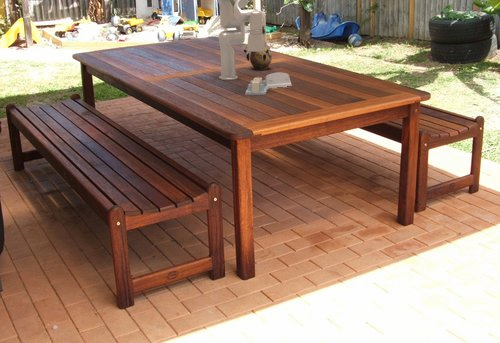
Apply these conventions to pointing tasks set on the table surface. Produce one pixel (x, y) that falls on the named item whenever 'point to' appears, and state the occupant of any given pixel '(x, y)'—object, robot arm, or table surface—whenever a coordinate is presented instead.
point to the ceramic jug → (260, 58)
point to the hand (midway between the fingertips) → (256, 60)
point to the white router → (278, 80)
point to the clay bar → (256, 84)
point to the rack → (261, 92)
